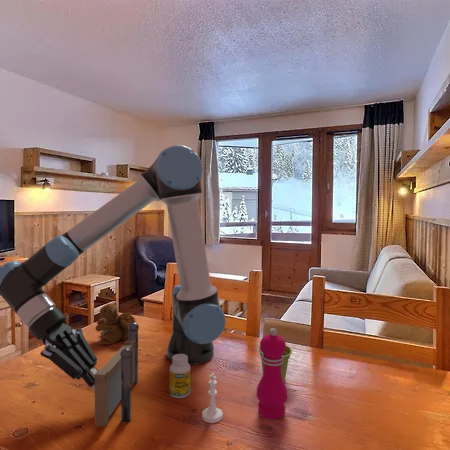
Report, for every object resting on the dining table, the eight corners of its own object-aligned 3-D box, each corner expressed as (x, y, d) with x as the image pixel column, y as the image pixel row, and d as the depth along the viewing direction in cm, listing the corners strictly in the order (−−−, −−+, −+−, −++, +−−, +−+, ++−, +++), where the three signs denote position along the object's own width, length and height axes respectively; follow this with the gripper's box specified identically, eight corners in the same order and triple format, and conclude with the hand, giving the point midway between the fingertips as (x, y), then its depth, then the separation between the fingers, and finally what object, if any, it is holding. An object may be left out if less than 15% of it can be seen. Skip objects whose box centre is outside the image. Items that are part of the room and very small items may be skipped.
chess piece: (215, 425, 74) (215, 381, 74) (197, 418, 77) (197, 375, 77) (227, 414, 79) (227, 372, 78) (209, 407, 81) (210, 366, 81)
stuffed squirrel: (99, 334, 126) (99, 300, 125) (138, 333, 128) (138, 299, 127) (92, 345, 116) (92, 307, 116) (134, 344, 118) (134, 307, 117)
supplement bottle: (186, 386, 91) (187, 351, 90) (193, 396, 86) (193, 359, 85) (167, 390, 88) (167, 354, 88) (172, 401, 84) (172, 363, 83)
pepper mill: (286, 423, 76) (288, 335, 75) (254, 418, 77) (256, 332, 76) (287, 404, 83) (289, 324, 82) (257, 401, 84) (259, 322, 83)
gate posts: (144, 379, 94) (144, 320, 93) (130, 423, 75) (130, 349, 74) (129, 379, 94) (129, 320, 93) (111, 423, 74) (110, 350, 74)
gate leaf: (126, 381, 90) (126, 339, 90) (134, 381, 90) (134, 340, 90) (94, 425, 72) (94, 374, 71) (105, 426, 72) (104, 374, 71)
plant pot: (294, 375, 97) (295, 346, 97) (286, 391, 89) (287, 359, 88) (263, 368, 101) (264, 340, 101) (252, 383, 93) (253, 352, 92)
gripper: (51, 318, 88) (109, 388, 86) (11, 336, 76) (79, 419, 74) (69, 300, 87) (129, 370, 85) (33, 315, 74) (101, 398, 72)
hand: (106, 392), depth 79 cm, fingers closed
